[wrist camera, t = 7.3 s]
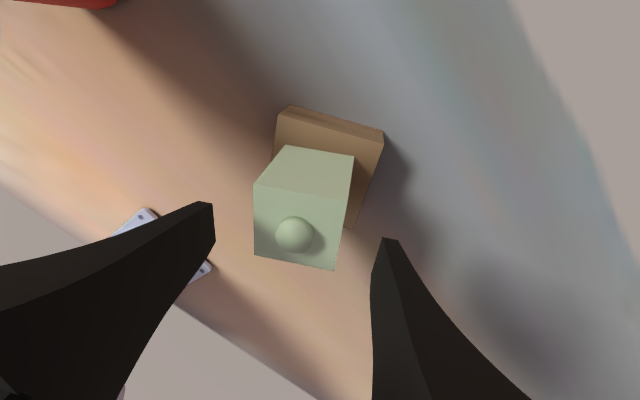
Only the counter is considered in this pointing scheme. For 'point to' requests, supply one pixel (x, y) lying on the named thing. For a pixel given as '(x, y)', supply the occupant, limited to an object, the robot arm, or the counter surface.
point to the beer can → (77, 3)
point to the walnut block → (333, 147)
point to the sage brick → (302, 206)
